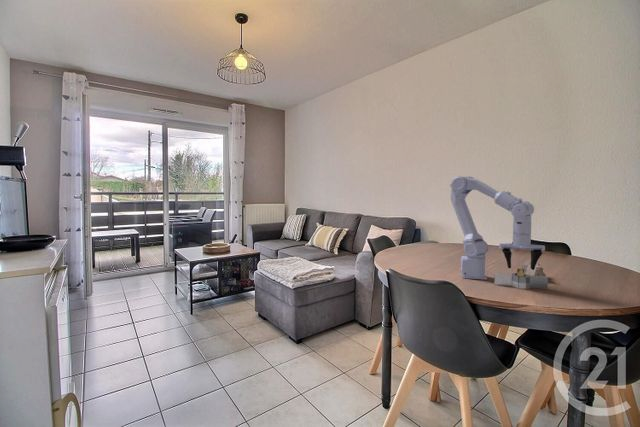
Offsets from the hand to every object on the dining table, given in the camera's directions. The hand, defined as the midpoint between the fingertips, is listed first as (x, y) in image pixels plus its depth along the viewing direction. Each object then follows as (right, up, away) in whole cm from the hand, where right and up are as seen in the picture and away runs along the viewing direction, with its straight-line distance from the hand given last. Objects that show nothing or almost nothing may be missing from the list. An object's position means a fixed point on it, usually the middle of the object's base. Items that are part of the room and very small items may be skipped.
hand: (520, 268), depth 116 cm
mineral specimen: (+13, -6, +12) cm, 19 cm away
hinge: (0, -7, +1) cm, 7 cm away
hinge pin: (0, -7, 0) cm, 7 cm away
